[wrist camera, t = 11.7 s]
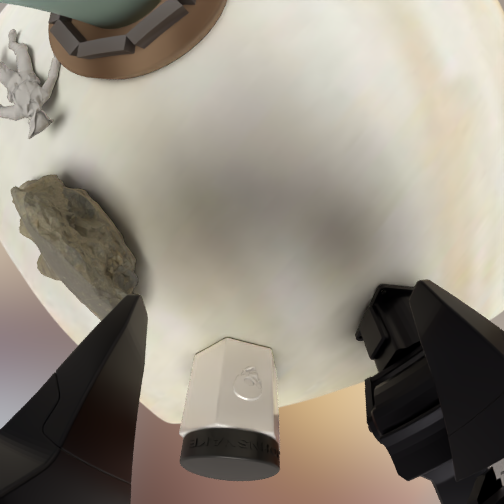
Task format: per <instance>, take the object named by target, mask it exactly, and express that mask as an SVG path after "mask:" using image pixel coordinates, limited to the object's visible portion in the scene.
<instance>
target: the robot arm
mask: <svg viewBox="0 0 504 504" xmlns="http://www.w3.org/2000/svg"><path fill="white" fill-rule="evenodd" d="M382 290H384V291H382ZM381 291H382V292H381ZM147 322H148V317H147V312H146V309H145V306H144V303H143V299H142V297H141V295H139V294H128V295H126V296H125V297H124V298H123V299H122V300H121V301H120V302H119V303H118V304H117V305H116V306H115V307H114V308H113V309H112V310H111V311H110V312H109V313H108V314H107V316H106V317H105V318H104V319H103V320H102V321H101V322H100V323H99V324H98V325H97V326H96V327H95V328H94V329H93V330H92V331H91V332H90V334H89V335H88V336H87V337H86V338H85V339H84V340H83V341H82V342H81V343H80V344H79V345H78V347H77V348H76V349H75V350H74V351H73V352H72V353H71V354H70V356H69V357H68V358H67V359H66V360H65V361H64V362H63V364H61V366H60V367H59V368H58V369H57V370H56V373H54V374H53V375H52V376H51V377H50V378H49V379H48V381H47V382H46V383H45V384H44V385H43V386H42V387H41V388H40V390H39V391H38V392H37V393H36V394H35V395H34V396H33V397H32V398H31V399H30V400H29V401H28V402H27V403H26V404H25V406H23V407H22V408H21V410H19V411H18V412H17V413H16V414H15V415H14V416H13V417H12V419H10V420H9V422H7V423H6V425H5V426H4V427H2V428H1V429H0V504H130V501H131V500H130V499H131V476H132V462H133V450H134V439H135V430H136V421H137V413H138V405H139V398H140V391H141V385H142V378H143V372H144V365H145V350H146V335H147ZM355 336H356V339H357V340H358V341H364V343H365V346H366V349H367V351H368V354H369V357H370V359H371V360H374V361H375V364H376V366H377V369H378V372H379V373H378V374H376V375H374V376H373V377H369V378H367V379H366V380H365V395H366V413H367V424H368V428H369V431H370V432H372V433H373V434H374V436H375V438H376V439H377V440H378V441H379V442H380V443H381V444H383V445H384V446H385V447H386V449H387V450H388V452H389V454H390V456H391V458H392V460H393V463H394V465H395V468H396V470H397V473H398V475H400V476H401V477H402V478H404V479H405V480H407V481H410V480H412V479H414V478H417V477H419V476H421V477H424V478H426V479H428V480H431V482H432V484H433V486H434V488H435V490H436V493H437V495H438V497H439V500H440V502H441V504H504V331H503V330H502V329H500V328H499V327H497V326H496V325H495V324H493V323H492V322H491V321H489V320H488V319H486V318H485V317H484V316H482V315H481V314H479V313H478V312H477V311H475V310H474V309H472V308H471V307H469V306H468V305H466V304H465V303H463V302H462V301H461V300H459V299H458V298H456V297H455V296H453V295H452V294H450V293H449V292H447V291H445V290H444V289H442V288H441V287H439V286H438V285H436V284H435V283H433V282H432V281H430V280H427V279H426V280H419V281H418V282H417V283H416V285H415V288H411V287H402V286H393V285H380V286H379V287H378V288H377V290H376V293H375V295H374V297H373V299H372V301H371V304H370V306H369V307H368V308H367V311H366V313H365V315H364V317H363V319H362V321H361V323H360V325H359V328H358V330H357V332H356V334H355ZM491 465H492V467H490V466H491Z"/></svg>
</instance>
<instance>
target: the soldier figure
mask: <svg viewBox="0 0 504 504" xmlns="http://www.w3.org/2000/svg"><path fill="white" fill-rule="evenodd" d="M16 36H17V33H16V30H15V29H13V30H11V31H10V32H9V49H12V50H13V51H14V53H15V55H16V58H17V66H18V72H15V71H13V70H11V69H8V68H7V67H6V65H5V64H4V63H3V62H0V82H1V83H2V84H3V85H4V86H5V87H6V88H7V91H8V95H7V98H8V100H9V102H11V103H12V102H13V101H14V105H13V106H7V107H3V106H2V105H1V104H0V117H2V118H9V119H11V120H15V121H16V120H20V119H22V118H24V117H25V118H28V117H32V118H31V119H30V123H29V122H28V123H29V126H30V132H29V137H28V139H30V138H32V137H33V136H35V135H36V134H38V133H40V132H42V131H43V130H44V129H45V128H46V127H48V126H49V125H50V124H51V123H52V122H54V121H53V120H52V119H50V118H49V117H48V116H47V115H46V113H45V112H44V111H42V110H40V109H41V108H42V106H43V104H44V103H45V102H46V101H47V100H48V99H49V98H50V95H51V93H52V89H53V87H54V85H55V82H56V80H57V78H58V71H59V67H60V62H59V61H58V60H57V58H56V57H55V55H54V58H53V59H52V63H51V67H50V70H49V73H48V78H47V80H46V82H45V83H44V84H43V86H42V87H40V86H39V85H40V84H41V83H40V79H39V78H38V77H37V76H36V75H35V73H34V72H33V67H32V63H31V58H30V56H29V54H28V51H27V50H28V47H26V46H27V45H26V44H24V43H22V44H18V43H16ZM28 121H29V120H28Z"/></svg>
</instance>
